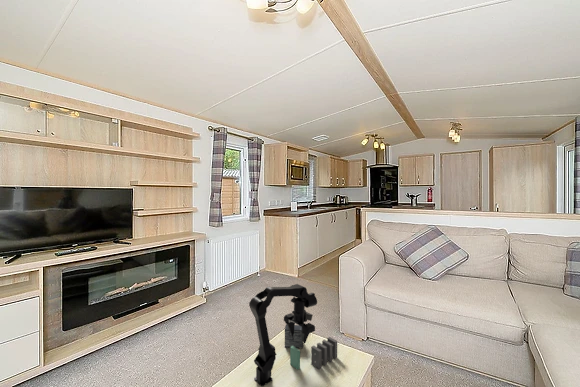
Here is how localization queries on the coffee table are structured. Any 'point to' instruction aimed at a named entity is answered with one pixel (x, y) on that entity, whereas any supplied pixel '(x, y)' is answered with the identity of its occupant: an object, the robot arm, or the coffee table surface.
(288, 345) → the small box
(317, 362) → the tile
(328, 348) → the tile
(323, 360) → the tile
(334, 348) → the tile
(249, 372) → the coffee table surface
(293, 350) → the tile
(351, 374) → the coffee table surface
